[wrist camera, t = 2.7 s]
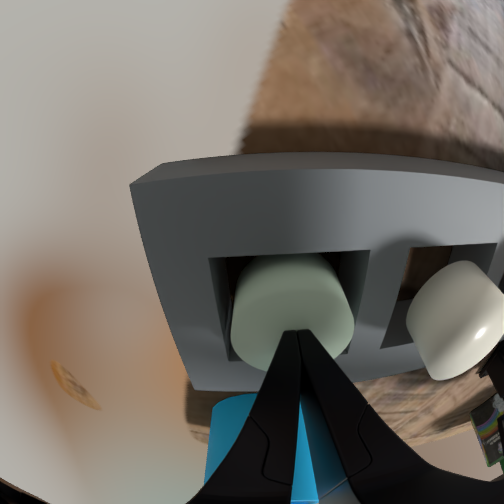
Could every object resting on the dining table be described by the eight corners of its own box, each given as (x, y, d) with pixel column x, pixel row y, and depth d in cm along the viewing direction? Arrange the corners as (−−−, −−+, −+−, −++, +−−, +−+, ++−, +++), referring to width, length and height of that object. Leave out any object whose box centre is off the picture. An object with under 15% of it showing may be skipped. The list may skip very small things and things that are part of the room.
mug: (191, 407, 19) (176, 497, 12) (277, 380, 16) (281, 497, 9) (273, 447, 23) (274, 512, 16) (344, 426, 21) (355, 499, 14)
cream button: (492, 257, 8) (525, 291, 5) (461, 329, 9) (482, 365, 7) (422, 264, 8) (458, 310, 6) (394, 344, 10) (413, 390, 8)
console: (541, 182, 8) (571, 200, 6) (501, 306, 13) (520, 332, 11) (162, 163, 10) (129, 184, 7) (203, 346, 14) (194, 389, 12)
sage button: (343, 244, 9) (364, 284, 7) (332, 325, 11) (343, 368, 9) (230, 249, 9) (222, 292, 7) (240, 330, 11) (237, 375, 9)
